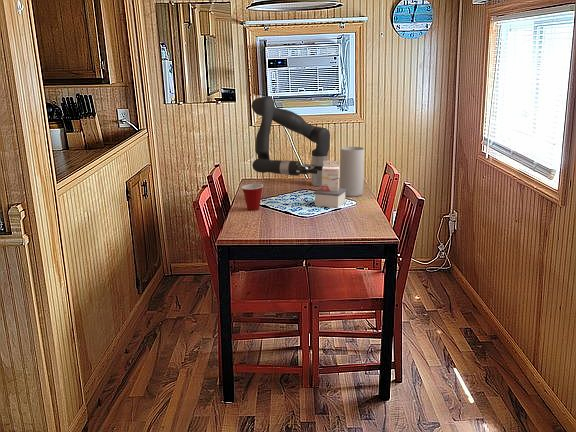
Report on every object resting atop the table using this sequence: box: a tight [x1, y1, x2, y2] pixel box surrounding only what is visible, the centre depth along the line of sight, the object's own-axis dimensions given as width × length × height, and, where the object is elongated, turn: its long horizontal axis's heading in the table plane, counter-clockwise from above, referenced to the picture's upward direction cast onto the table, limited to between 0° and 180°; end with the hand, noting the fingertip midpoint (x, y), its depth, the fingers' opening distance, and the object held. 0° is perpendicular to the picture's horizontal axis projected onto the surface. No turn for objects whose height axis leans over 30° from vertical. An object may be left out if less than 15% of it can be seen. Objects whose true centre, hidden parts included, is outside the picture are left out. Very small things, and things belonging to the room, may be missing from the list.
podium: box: [313, 186, 347, 209], centre depth 299 cm, size 13×13×7 cm
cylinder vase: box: [339, 146, 365, 198], centre depth 317 cm, size 12×12×25 cm
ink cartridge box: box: [321, 160, 340, 191], centre depth 297 cm, size 9×5×15 cm, turn 82°
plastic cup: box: [241, 183, 264, 212], centre depth 289 cm, size 11×11×12 cm
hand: (320, 170), depth 298 cm, fingers open, 8 cm apart
